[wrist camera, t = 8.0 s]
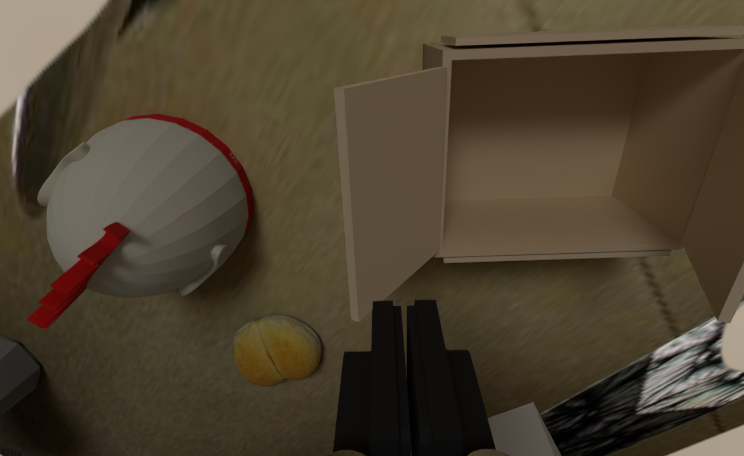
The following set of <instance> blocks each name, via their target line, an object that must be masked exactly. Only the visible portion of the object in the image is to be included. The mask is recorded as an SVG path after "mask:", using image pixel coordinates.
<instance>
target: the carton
mask: <svg viewBox="0 0 744 456" xmlns="http://www.w3.org/2000/svg"><path fill="white" fill-rule="evenodd" d="M742 34H744V26H670V27H645V28H619V29H594V30H569V31H544V32H519V33H493V34H468V35H443V36H441V42H442V43H431V44H423V70H426V69H431V68H436V67H447V77H446V99H445V121H444V143H443V165H442V187H441V209H440V231H439V251H438V252H437V253H436V254H435V255H434V257H442V258H443V262H444V263H460V262H490V261H521V260H552V259H582V258H613V257H643V256H670V253H671V250H676V249H685V248H684V246H683V244H682V239H683V237H684V234H685V231H686V228H687V225H688V223H689V220H690V217H691V214H692V211H693V209H694V206H695V203H696V200H697V197H698V195H699V192H700V189H701V186H702V184H703V181H704V178H705V175H706V172H707V170H708V167H709V164H710V161H711V158H712V156H713V153H714V150H715V147H716V144H717V142H718V139H719V136H720V133H721V130H722V128H723V125H724V122H725V119H726V116H727V114H728V111H729V108H730V105H731V102H732V100H733V97H734V94H735V91H736V88H737V86H738V83H739V80H740V77H741V74H742V72H743V69H744V37H713V36H716V35H742Z"/></svg>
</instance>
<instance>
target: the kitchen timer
mask: <svg viewBox="0 0 744 456" xmlns="http://www.w3.org/2000/svg"><path fill="white" fill-rule="evenodd" d="M38 202H39V204H40V205H42V206H47V238H48V242H49V244H50V247H51V250H52V253H53V256H54V258H55V259H56V261H57V262H58V264H59V265H60V267H61V268H62V270H63V271H64V272H65V273H64V274H63V275H62V276H60V277H59V278H58V279H57V280H56V281H55V282H53V283H52V284H51V285H50V286H51V287H52V288H54V289H52V290H51V291H50V292H49V293H48V294H47V295H46V296H44V297H43V298H42V299H41V300H40V301H39V303H41V304H43V305H42V306H41V307H39V308H38V309H37V310H36V311H35V312H34V313H33V314H32V315H31V316H30V317H29V318H28V319H27V321H29V322H31V323H33V324H35V325H37V326H38V327H40V328H45V329H47V328H48V327H49V326H50V325H51V324H52V323H53V322H54V321H55V320H56V319H57V318H58V317H59V316H60V315H61V314H62V313H63V312H64V311H65V310H66V309H67V308H68V307H69V306H70V305H71V304H72V303H73V302H74V301H75V300H76V299H77V298H78V297H79V296H80V295H81V294H82V293H83V292H84V291H85V290H86V289H90V290H92V291H95V292H98V293H101V294H104V295H110V296H117V297H125V298H131V297H143V296H153V295H159V294H163V293H166V292H169V291H172V290H174V289H178V291H179V293H180V294H181V296H185V295H187V294H189V293H191V292H192V291H193V290H195V289H196V288H197V287H198V286H199V285H201V284H202V283H203V282H204V281H205V280H206V279H207V278H208V277H210V276H211V275H212V274H213V273H214V272H215V271H216V270H217V269H218V268H220V267H221V266H222V265H223V264H224V262H225V261H226V260H227V258H228V257H229V256H230V255H231V254H232V253H233V252H234V251H235V249H236V247H237V246H238V244H239V243H240V241H241V240H242V238H243V237H244V235H245V233H246V232H247V230H248V228H249V225H250V221H251V217H252V212H253V200H252V189H251V186H250V183H249V181H248V178H247V176H246V173H245V171H244V168H243V166H242V165H241V164H240V162H239V161H238V160H237V158H236V157H235V156H234V154H233V153H232V152H231V150H230V149H229V148H228V146H226V145H225V144H224V143H223V142H221V141H220V140H219V139H218V138H216V137H215V136H214V135H213V134H212V133H210V132H209V131H208V130H206V129H204V128H202V127H200V126H198V125H195V124H193V123H191V122H189V121H187V120H185V119H182V118H176V117H171V116H166V115H161V114H153V115H143V116H133V117H131V118H128V119H126V120H123V121H121V122H119V123H116V124H114V125H112V126H110V127H108V128H105V129H103V130H101V131H99V132H98V133H96V134H95V135H94V136H93V137H91V139H90V140H89V141H88V142H87V143H81V144H80V145H79V146H77V147H76V148H75V149H74V150H72V151H71V152H70V153H69V154H67V155H66V156H65V157H64V158H63V159H62V160H61V162H60V163H59V164H58V166H57V167H56V168H55V170H54V171H53V173H52V174H51V175H50V176H49V178H48V179H47V180H46V182H45V183H44V184H43V186H42V187H41V189H40V191H39V194H38Z"/></svg>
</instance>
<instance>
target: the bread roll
mask: <svg viewBox="0 0 744 456" xmlns="http://www.w3.org/2000/svg"><path fill="white" fill-rule="evenodd" d="M233 354H234V360H235V365H236V366H237V368H238V370H239V372H240V373H241V375H242V376H243V377H244V378H245V379H247V380H248V381H249V382H251V383H253V384H256V385H259V386H266V387H270V386H275V385H277V384H279V383H281V382H282V381H284V380H285V379H286V378H287V379H292V380H301V379H305V378H307V377H308V376H310V375H311V374H312V373H313V372H314V371H315V370H316V368H317V366H318V364H319V362H320V357H321V343H320V340H319V338H318V336H317V334H316V333H315V332H314V331H313V330H312V329H311V328H310V327H309V326H308V325H307V324H305V323H303V322H301V321H299V320H297V319H294V318H292V317H289V316H286V315H271V316H266V317H264V318H262V319H260V320H253V321H251V322H248V323H246V324H245V325H243V326H242V327H241V328H240V329H239V330H238V331H237V332H236V333H235V335H234V343H233Z"/></svg>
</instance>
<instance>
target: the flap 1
mask: <svg viewBox="0 0 744 456" xmlns="http://www.w3.org/2000/svg"><path fill="white" fill-rule="evenodd" d="M446 77H447V67H436V68H431V69H426V70H421V71H416V72H411V73H406V74H402V75H397V76H392V77H387V78H382V79H377V80H372V81H367V82H362V83H357V84H352V85H347V86H342V87H338V88H334V97H335V110H336V123H337V137H338V150H339V163H340V177H341V190H342V203H343V217H344V230H345V243H346V257H347V270H348V283H349V297H350V310H351V319H353V320H355V321H357V322H360V321H361V320H362V319H363V318H364V317H365V316H366V315H368V314H369V313H370V312H371V311H372V309H373V301H383V300H384V299H386V298H387V297H388V296H389V295H390V294H391V293H392V292H393V291H394V290H396V289H397V288H398V287H399V286H400V285H401V284H402V283H403V282H405V281H406V280H407V279H408V278H409V277H410V276H411V275H412V274H414V273H415V272H416V271H417V270H418V269H419V268H420V267H421V266H423V265H424V264H425V263H426V262H427V261H428V260H429V259H430V258H432V257H433V256H434V255H435V254H436V253H437V252H438V251H439V231H440V209H441V187H442V165H443V143H444V121H445V99H446Z"/></svg>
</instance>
